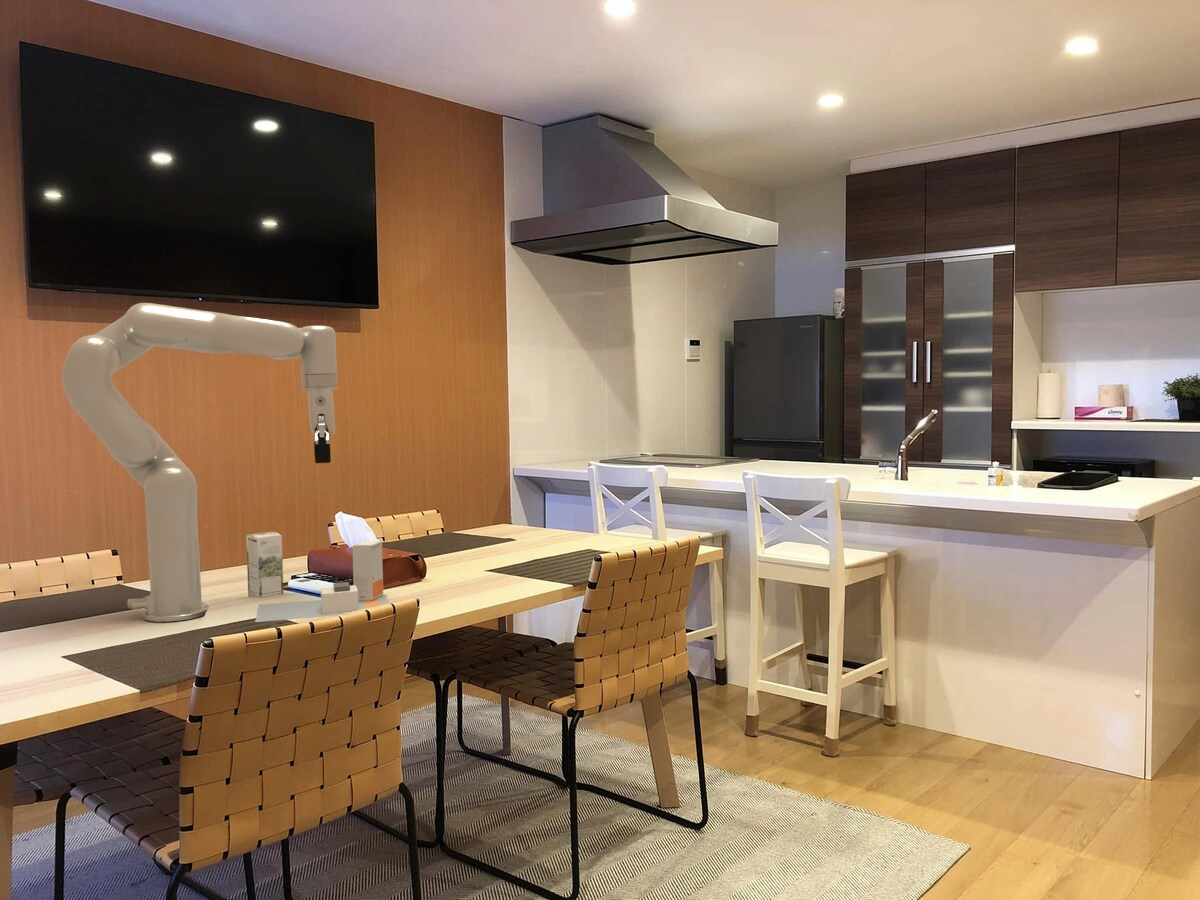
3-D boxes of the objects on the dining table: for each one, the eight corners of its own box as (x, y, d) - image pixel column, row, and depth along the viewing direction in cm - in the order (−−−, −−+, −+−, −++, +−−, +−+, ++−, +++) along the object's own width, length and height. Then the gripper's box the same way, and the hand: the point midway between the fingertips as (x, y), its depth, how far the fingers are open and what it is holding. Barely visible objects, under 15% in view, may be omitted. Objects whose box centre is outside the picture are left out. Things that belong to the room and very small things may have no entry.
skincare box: (372, 601, 194) (370, 545, 193) (353, 601, 195) (351, 544, 194) (384, 595, 200) (382, 540, 199) (366, 594, 201) (364, 540, 200)
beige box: (322, 614, 184) (321, 589, 184) (321, 607, 190) (320, 583, 190) (358, 610, 187) (357, 586, 186) (356, 604, 192) (355, 580, 192)
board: (255, 628, 179) (255, 622, 179) (259, 610, 193) (258, 604, 193) (392, 615, 187) (392, 609, 187) (386, 599, 201) (385, 594, 201)
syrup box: (272, 594, 209) (270, 530, 208) (284, 598, 204) (282, 533, 203) (248, 598, 205) (245, 533, 204) (259, 602, 200) (256, 536, 199)
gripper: (338, 382, 194) (341, 463, 195) (336, 383, 211) (339, 457, 212) (301, 383, 192) (304, 465, 193) (301, 383, 208) (304, 459, 209)
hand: (322, 461), depth 202 cm, fingers open, 9 cm apart
